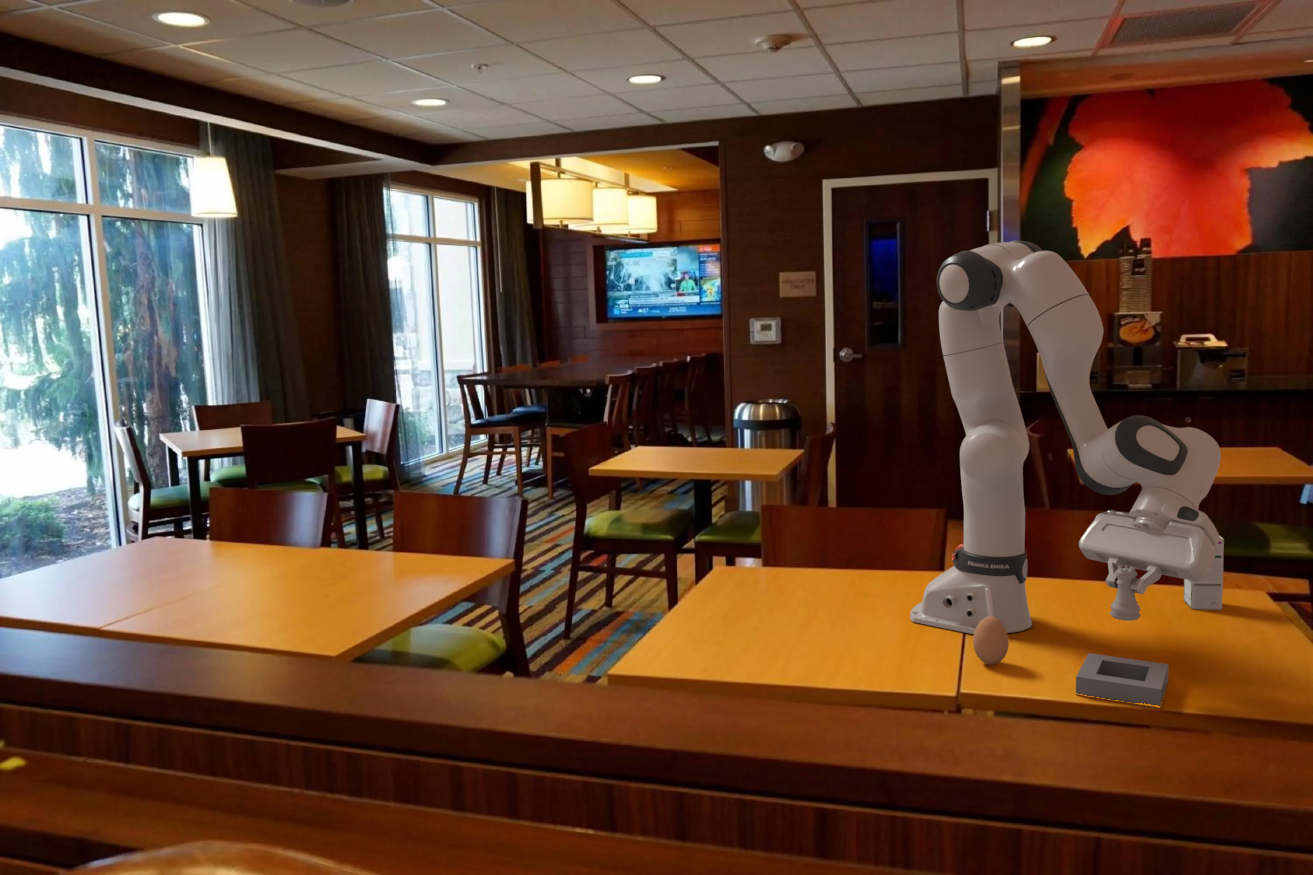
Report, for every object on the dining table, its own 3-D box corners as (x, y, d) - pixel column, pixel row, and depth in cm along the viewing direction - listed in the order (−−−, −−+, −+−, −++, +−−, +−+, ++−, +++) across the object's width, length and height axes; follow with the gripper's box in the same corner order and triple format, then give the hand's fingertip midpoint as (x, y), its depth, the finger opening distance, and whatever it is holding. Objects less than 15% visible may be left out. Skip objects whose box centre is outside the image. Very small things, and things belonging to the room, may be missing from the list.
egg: (977, 656, 181) (977, 610, 180) (1011, 661, 178) (1012, 614, 177) (969, 666, 176) (969, 619, 175) (1004, 672, 173) (1004, 623, 172)
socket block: (1075, 694, 163) (1076, 676, 162) (1088, 670, 173) (1088, 653, 172) (1160, 708, 157) (1161, 689, 156) (1167, 682, 167) (1168, 664, 166)
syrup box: (1223, 610, 202) (1226, 537, 200) (1190, 609, 203) (1193, 537, 201) (1213, 601, 208) (1216, 531, 206) (1181, 601, 209) (1184, 530, 207)
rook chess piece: (1113, 611, 166) (1114, 562, 165) (1143, 615, 164) (1144, 565, 163) (1106, 618, 163) (1108, 568, 162) (1137, 622, 160) (1139, 572, 159)
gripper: (1093, 497, 173) (1056, 564, 169) (1216, 516, 156) (1178, 590, 152) (1109, 519, 176) (1073, 585, 172) (1231, 540, 159) (1194, 614, 155)
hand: (1123, 588), depth 162 cm, fingers closed on rook chess piece, 3 cm apart
